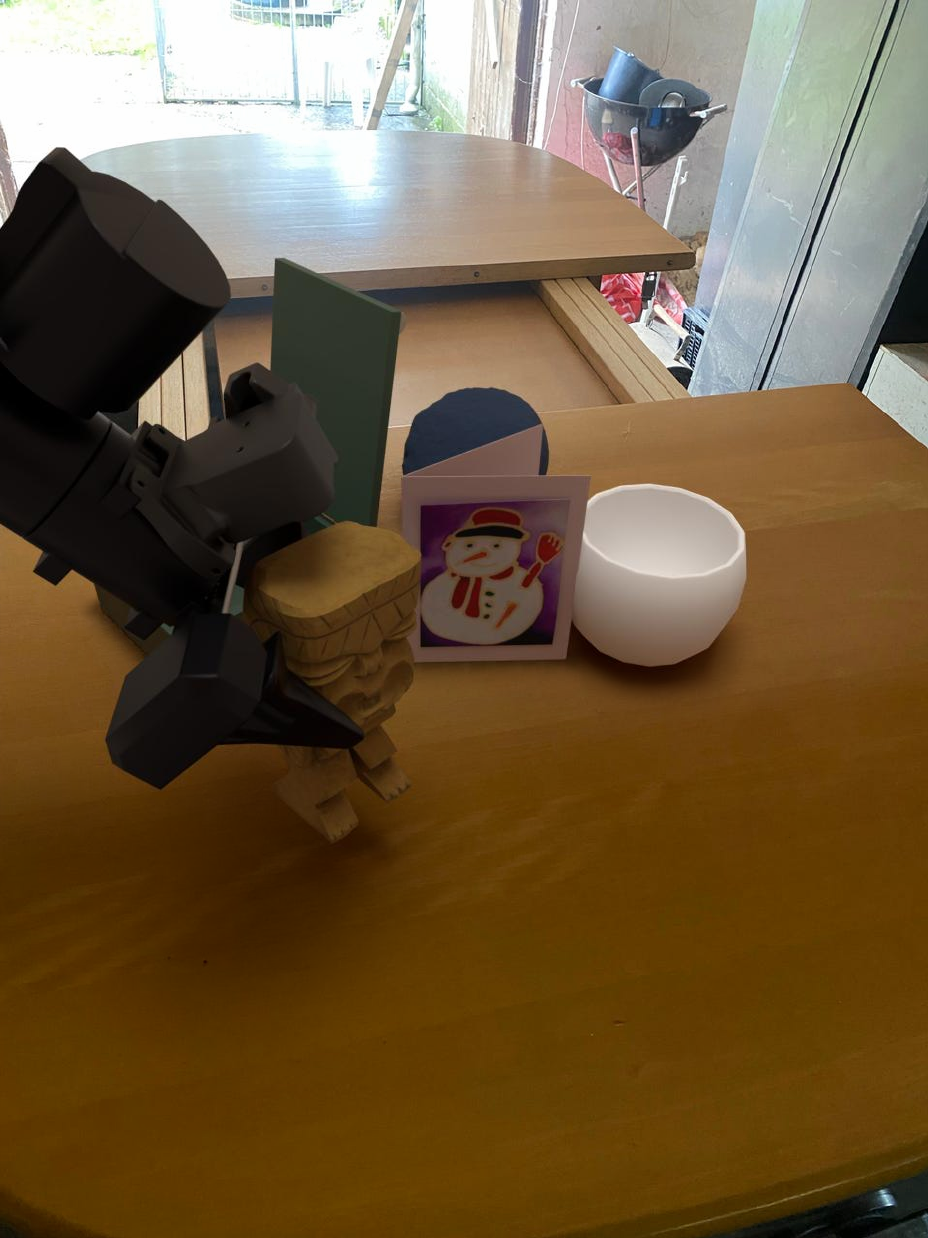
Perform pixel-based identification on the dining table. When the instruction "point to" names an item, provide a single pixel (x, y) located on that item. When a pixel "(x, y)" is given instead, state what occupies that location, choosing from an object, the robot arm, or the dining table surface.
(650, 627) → the cup
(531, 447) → the greeting card
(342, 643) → the figurine
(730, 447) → the dining table surface
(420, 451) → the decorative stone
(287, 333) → the box lid
